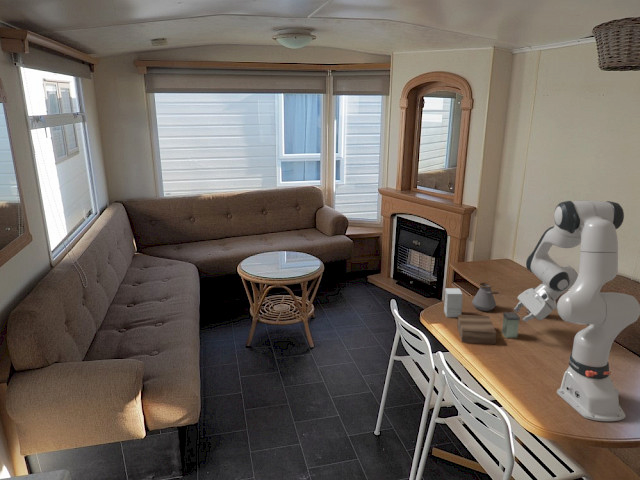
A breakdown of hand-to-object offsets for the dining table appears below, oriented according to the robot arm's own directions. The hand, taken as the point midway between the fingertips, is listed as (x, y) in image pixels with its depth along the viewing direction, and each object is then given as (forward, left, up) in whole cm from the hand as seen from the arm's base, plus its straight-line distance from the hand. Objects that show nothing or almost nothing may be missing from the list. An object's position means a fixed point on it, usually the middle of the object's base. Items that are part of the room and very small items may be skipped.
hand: (519, 315), depth 208 cm
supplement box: (+22, +23, -10) cm, 34 cm away
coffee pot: (+24, +5, -10) cm, 26 cm away
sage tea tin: (0, +3, -10) cm, 10 cm away
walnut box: (+1, +18, -10) cm, 21 cm away
